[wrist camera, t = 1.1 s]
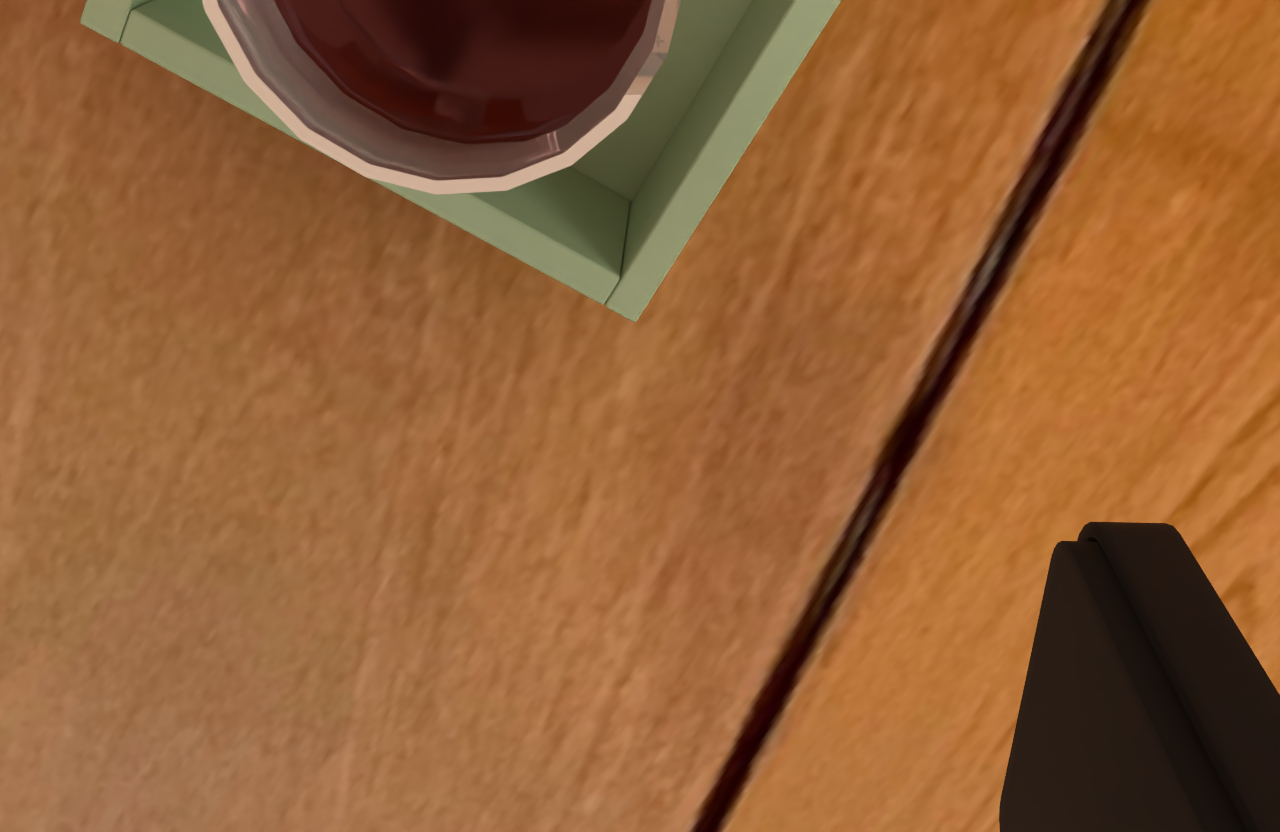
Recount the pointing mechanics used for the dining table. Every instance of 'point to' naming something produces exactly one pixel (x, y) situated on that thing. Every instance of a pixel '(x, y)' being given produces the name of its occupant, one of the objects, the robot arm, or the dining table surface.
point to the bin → (607, 174)
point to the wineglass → (448, 80)
